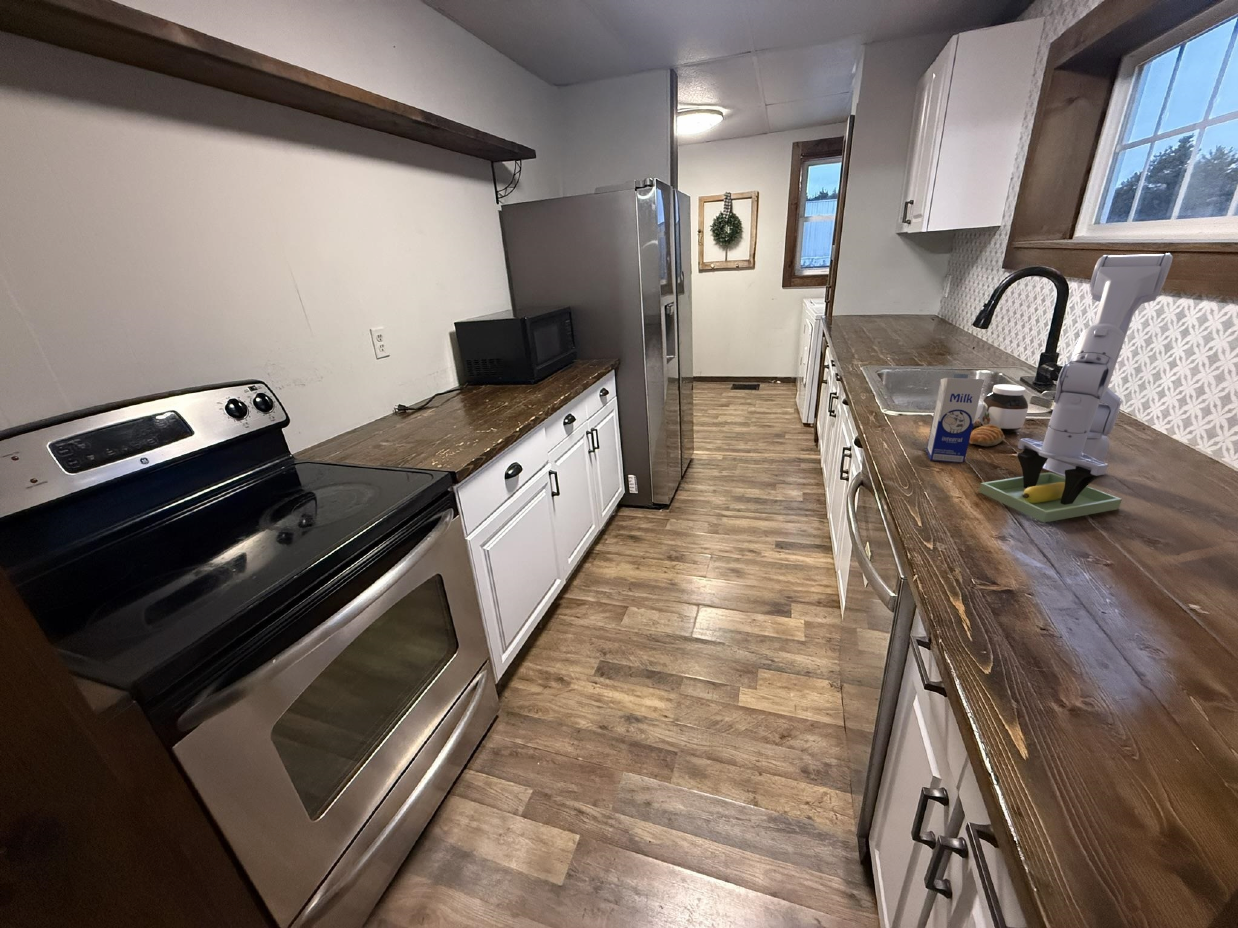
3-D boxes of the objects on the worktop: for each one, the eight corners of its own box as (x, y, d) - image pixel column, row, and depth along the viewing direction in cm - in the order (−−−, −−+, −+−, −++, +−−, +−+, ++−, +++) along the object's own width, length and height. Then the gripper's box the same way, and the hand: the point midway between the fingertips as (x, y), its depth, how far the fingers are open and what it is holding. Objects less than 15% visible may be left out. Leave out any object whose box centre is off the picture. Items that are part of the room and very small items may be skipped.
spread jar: (1026, 434, 130) (1039, 391, 126) (982, 436, 131) (993, 393, 126) (995, 420, 141) (1005, 380, 137) (954, 422, 142) (963, 382, 137)
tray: (1046, 483, 104) (1050, 471, 103) (1117, 511, 92) (1122, 499, 91) (978, 494, 101) (981, 482, 100) (1042, 525, 89) (1046, 512, 88)
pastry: (991, 450, 122) (995, 435, 120) (960, 444, 127) (963, 429, 125) (1004, 441, 127) (1008, 426, 125) (974, 435, 132) (977, 421, 130)
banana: (1057, 492, 99) (1062, 478, 97) (1074, 499, 96) (1080, 484, 94) (1013, 500, 97) (1017, 485, 95) (1029, 507, 94) (1033, 492, 92)
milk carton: (929, 460, 118) (947, 377, 110) (925, 450, 123) (941, 370, 116) (964, 463, 115) (985, 378, 107) (958, 453, 121) (977, 372, 113)
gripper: (1013, 419, 96) (995, 482, 102) (1094, 443, 83) (1069, 515, 88) (1042, 415, 98) (1024, 478, 103) (1126, 439, 85) (1100, 509, 90)
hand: (1047, 495), depth 96 cm, fingers open, 7 cm apart
